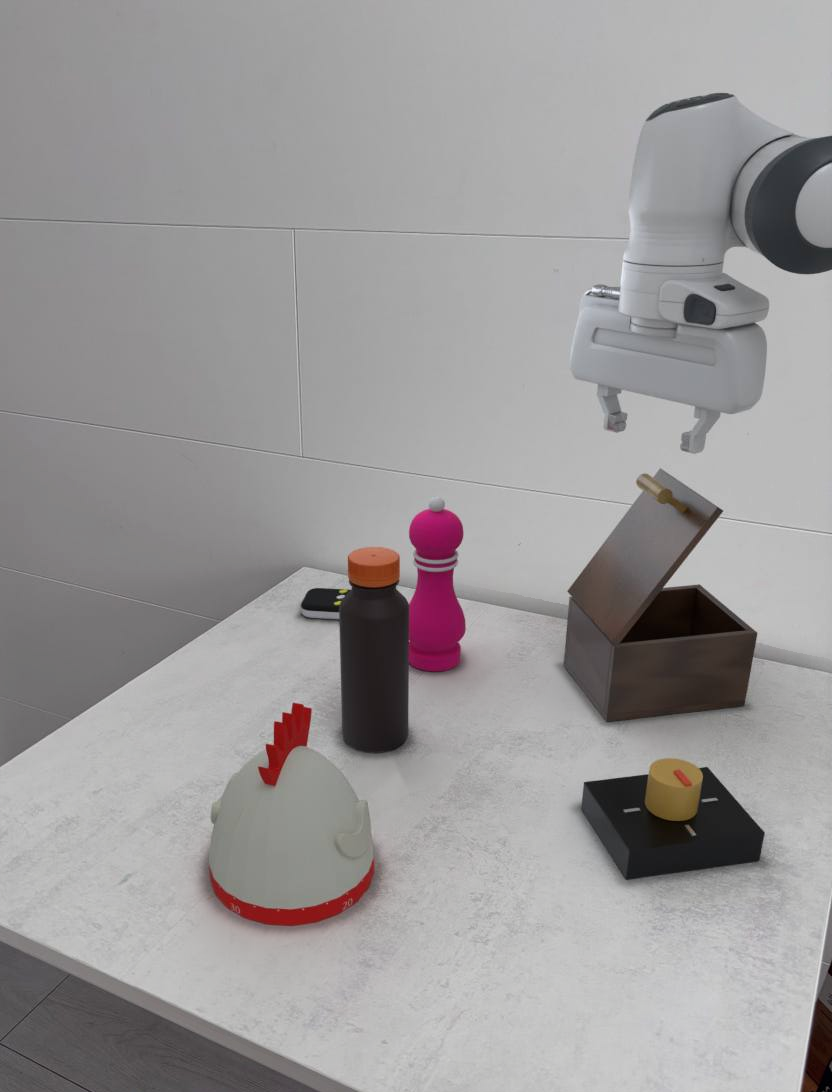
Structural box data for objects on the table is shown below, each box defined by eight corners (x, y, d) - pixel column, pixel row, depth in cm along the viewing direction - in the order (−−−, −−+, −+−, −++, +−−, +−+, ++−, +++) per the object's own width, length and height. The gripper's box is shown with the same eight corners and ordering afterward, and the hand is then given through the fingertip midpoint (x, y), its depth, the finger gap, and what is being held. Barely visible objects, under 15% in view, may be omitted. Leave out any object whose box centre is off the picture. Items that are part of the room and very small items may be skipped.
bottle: (406, 718, 108) (408, 542, 99) (409, 753, 102) (411, 569, 93) (342, 719, 108) (338, 543, 99) (342, 754, 102) (337, 570, 93)
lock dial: (635, 794, 90) (640, 758, 89) (681, 787, 91) (687, 752, 89) (659, 824, 87) (665, 787, 85) (707, 817, 87) (713, 780, 86)
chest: (689, 652, 120) (699, 584, 116) (744, 706, 109) (757, 632, 105) (563, 665, 118) (569, 596, 114) (606, 722, 107) (614, 647, 103)
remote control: (308, 598, 136) (308, 584, 135) (404, 603, 134) (404, 589, 133) (298, 618, 130) (298, 604, 130) (398, 624, 128) (398, 610, 128)
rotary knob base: (702, 793, 96) (707, 765, 94) (759, 861, 87) (765, 831, 85) (580, 808, 94) (583, 780, 92) (625, 879, 85) (629, 849, 84)
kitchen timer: (396, 838, 90) (397, 691, 84) (336, 943, 79) (331, 783, 72) (256, 805, 95) (245, 663, 88) (179, 899, 84) (160, 745, 77)
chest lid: (665, 471, 109) (634, 450, 108) (723, 510, 98) (690, 487, 96) (572, 594, 114) (541, 575, 112) (618, 645, 103) (584, 625, 101)
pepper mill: (396, 648, 123) (397, 488, 114) (455, 642, 124) (459, 483, 115) (410, 677, 116) (412, 510, 107) (472, 670, 117) (478, 505, 108)
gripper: (561, 285, 100) (551, 424, 106) (743, 311, 85) (719, 471, 92) (604, 278, 103) (592, 414, 110) (787, 302, 89) (761, 457, 95)
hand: (651, 440), depth 101 cm, fingers open, 8 cm apart
